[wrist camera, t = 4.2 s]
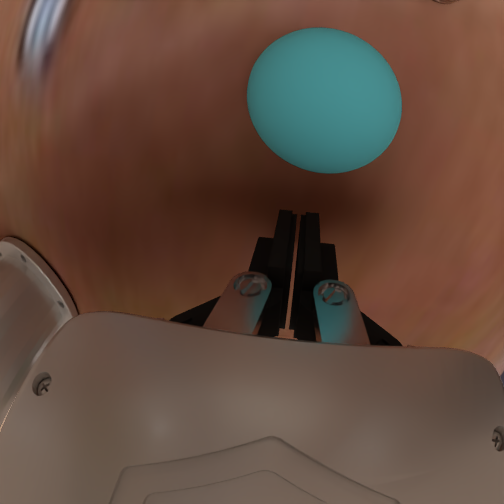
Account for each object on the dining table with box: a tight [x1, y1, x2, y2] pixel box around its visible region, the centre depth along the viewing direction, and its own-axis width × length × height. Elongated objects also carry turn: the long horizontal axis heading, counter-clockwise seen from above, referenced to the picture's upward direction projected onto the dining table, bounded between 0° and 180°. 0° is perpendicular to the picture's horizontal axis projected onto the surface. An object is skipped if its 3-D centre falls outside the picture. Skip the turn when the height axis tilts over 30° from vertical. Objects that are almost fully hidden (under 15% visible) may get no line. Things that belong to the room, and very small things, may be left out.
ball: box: [247, 28, 402, 174], centre depth 8 cm, size 5×5×5 cm
